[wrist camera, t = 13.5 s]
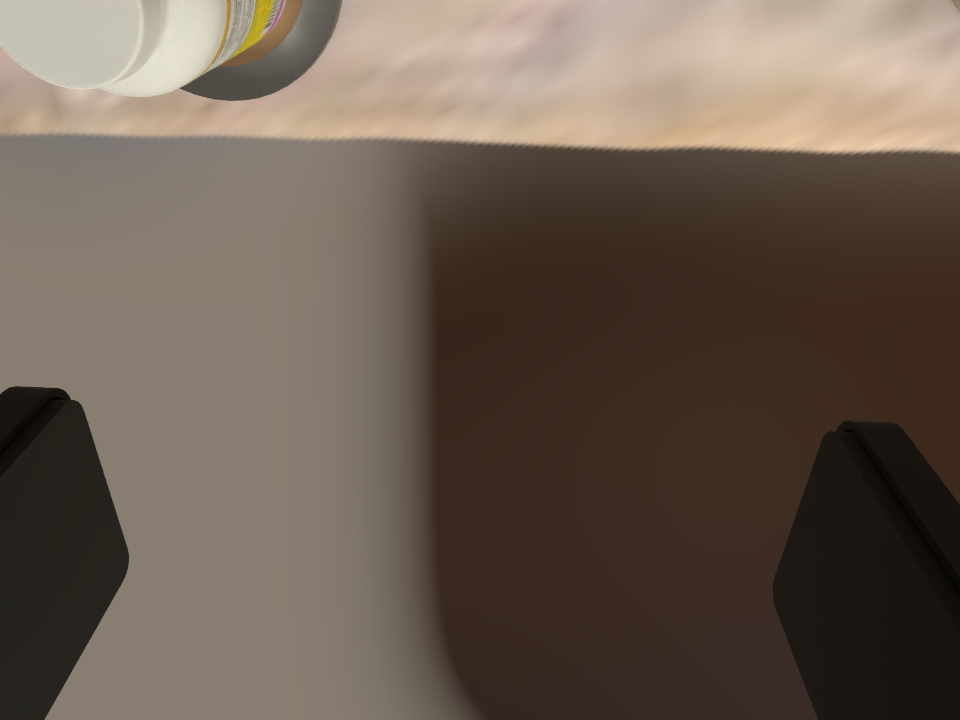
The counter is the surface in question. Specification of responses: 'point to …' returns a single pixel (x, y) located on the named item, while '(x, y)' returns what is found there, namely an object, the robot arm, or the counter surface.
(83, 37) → the supplement bottle
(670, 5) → the counter surface
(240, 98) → the round coaster
